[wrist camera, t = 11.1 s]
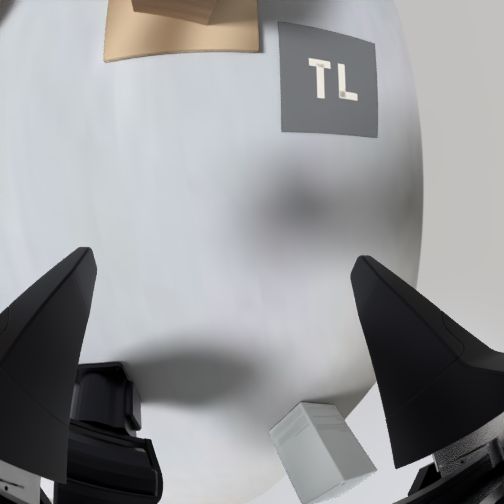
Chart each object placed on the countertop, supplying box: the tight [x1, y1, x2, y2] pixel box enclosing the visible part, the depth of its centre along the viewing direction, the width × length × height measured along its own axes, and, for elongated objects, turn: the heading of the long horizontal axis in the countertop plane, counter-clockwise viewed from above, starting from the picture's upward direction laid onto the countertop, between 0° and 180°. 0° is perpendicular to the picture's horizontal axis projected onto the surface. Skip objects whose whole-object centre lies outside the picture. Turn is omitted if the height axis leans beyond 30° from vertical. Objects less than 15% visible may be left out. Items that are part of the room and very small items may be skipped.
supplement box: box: [269, 402, 377, 504], centre depth 28 cm, size 7×7×13 cm
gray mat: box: [278, 22, 378, 138], centre depth 18 cm, size 9×9×1 cm
